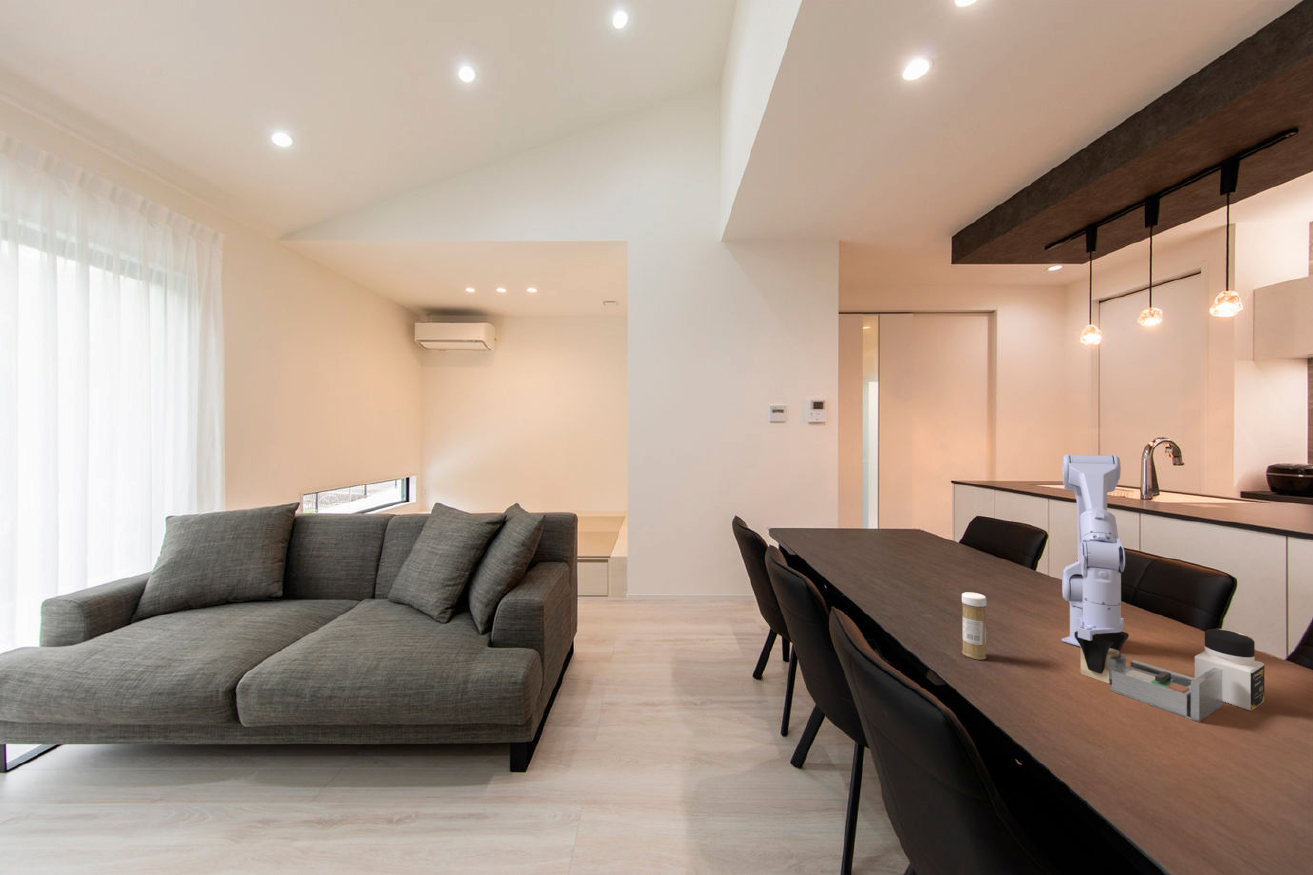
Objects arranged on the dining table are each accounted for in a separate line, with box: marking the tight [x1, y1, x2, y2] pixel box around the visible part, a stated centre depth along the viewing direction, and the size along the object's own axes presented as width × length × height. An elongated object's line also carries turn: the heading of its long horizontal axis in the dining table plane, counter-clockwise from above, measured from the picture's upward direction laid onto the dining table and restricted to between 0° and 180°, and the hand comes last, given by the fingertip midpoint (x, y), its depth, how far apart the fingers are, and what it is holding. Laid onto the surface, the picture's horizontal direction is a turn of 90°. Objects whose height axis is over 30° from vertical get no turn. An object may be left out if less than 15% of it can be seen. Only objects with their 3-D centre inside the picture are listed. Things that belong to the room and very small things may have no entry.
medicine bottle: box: [1194, 628, 1265, 712], centre depth 91 cm, size 7×7×12 cm
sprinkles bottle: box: [961, 591, 987, 661], centre depth 108 cm, size 5×5×14 cm
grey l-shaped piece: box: [1109, 652, 1173, 682], centre depth 93 cm, size 8×8×4 cm
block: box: [1080, 647, 1120, 684], centre depth 99 cm, size 4×4×6 cm
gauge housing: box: [1111, 659, 1223, 723], centre depth 91 cm, size 11×12×6 cm
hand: (1101, 668), depth 99 cm, fingers closed on block, 4 cm apart
